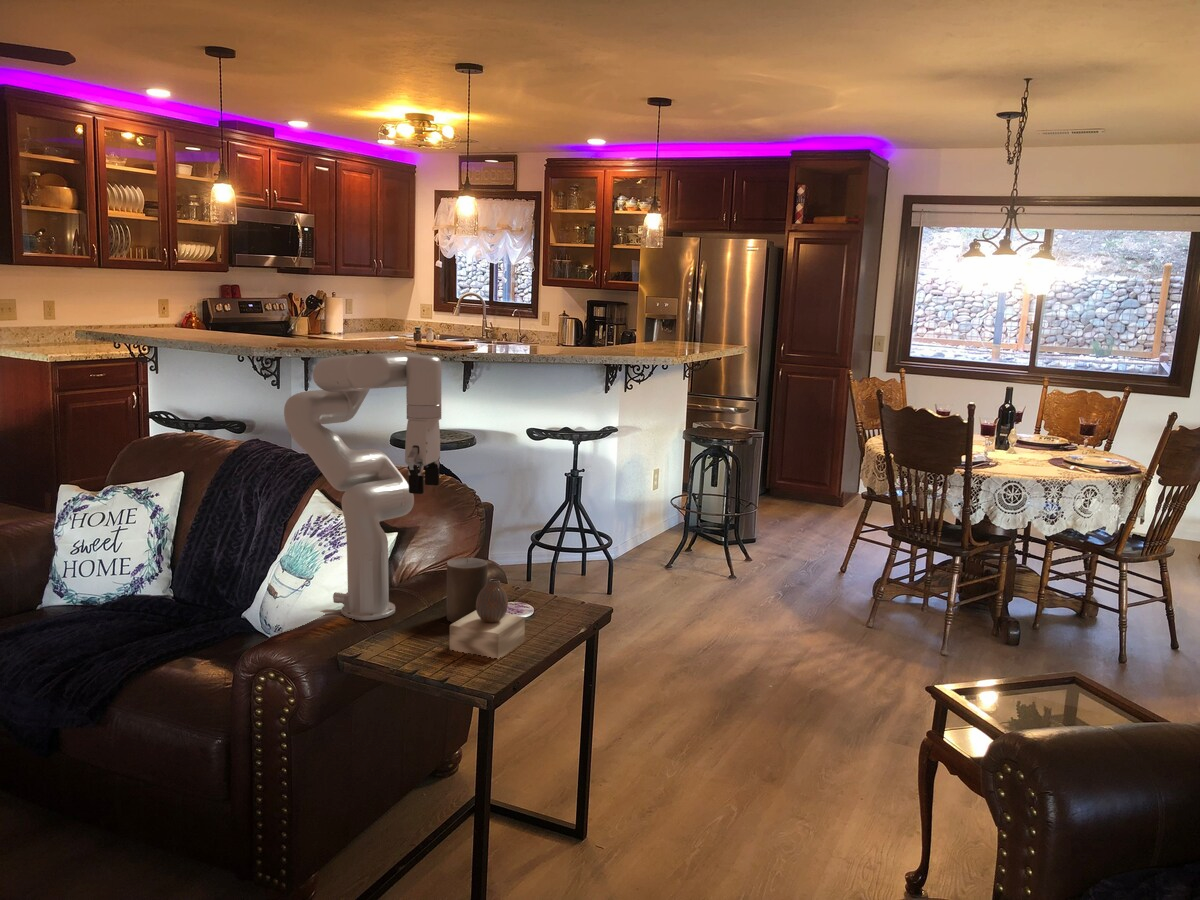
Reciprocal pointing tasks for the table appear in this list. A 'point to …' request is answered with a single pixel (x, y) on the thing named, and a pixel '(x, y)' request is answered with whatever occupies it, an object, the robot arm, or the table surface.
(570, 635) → the table surface
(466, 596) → the pillar candle
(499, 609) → the vase
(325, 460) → the robot arm
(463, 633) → the maple block
